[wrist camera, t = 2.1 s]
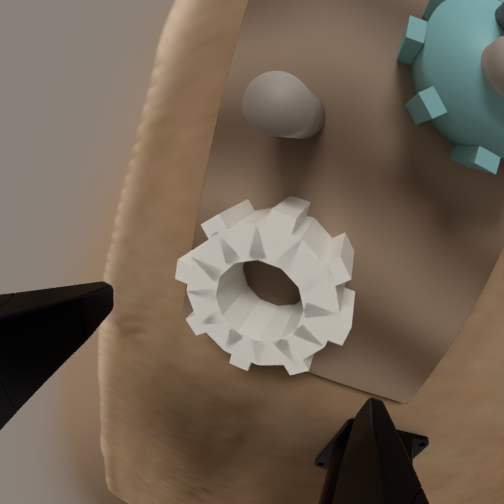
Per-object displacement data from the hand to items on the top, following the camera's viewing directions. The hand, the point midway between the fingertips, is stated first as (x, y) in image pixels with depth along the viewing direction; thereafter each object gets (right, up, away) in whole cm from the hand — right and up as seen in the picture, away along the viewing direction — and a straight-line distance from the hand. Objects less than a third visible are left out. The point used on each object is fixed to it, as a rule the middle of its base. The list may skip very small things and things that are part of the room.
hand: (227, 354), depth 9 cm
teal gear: (+10, +10, 0) cm, 14 cm away
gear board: (+6, +6, +4) cm, 9 cm away
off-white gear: (+2, +2, +5) cm, 6 cm away
